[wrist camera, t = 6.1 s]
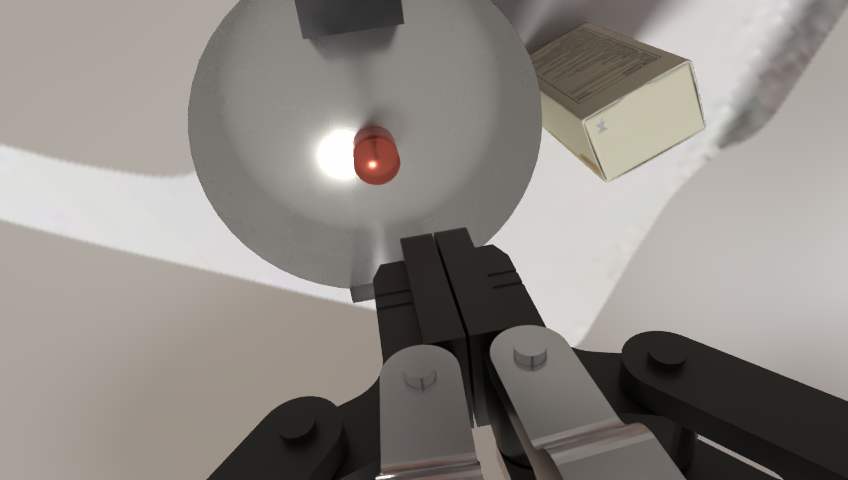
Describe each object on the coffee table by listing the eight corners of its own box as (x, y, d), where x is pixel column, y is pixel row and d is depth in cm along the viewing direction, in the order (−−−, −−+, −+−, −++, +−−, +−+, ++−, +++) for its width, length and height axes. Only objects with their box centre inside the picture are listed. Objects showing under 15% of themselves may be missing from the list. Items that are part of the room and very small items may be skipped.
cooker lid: (138, -22, 22) (109, -11, 19) (530, -78, 23) (560, -75, 20) (254, 309, 31) (247, 351, 28) (534, 257, 32) (555, 292, 29)
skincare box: (530, 118, 41) (600, 189, 30) (507, 65, 39) (574, 123, 28) (610, 73, 40) (711, 131, 30) (592, 17, 38) (693, 58, 27)
